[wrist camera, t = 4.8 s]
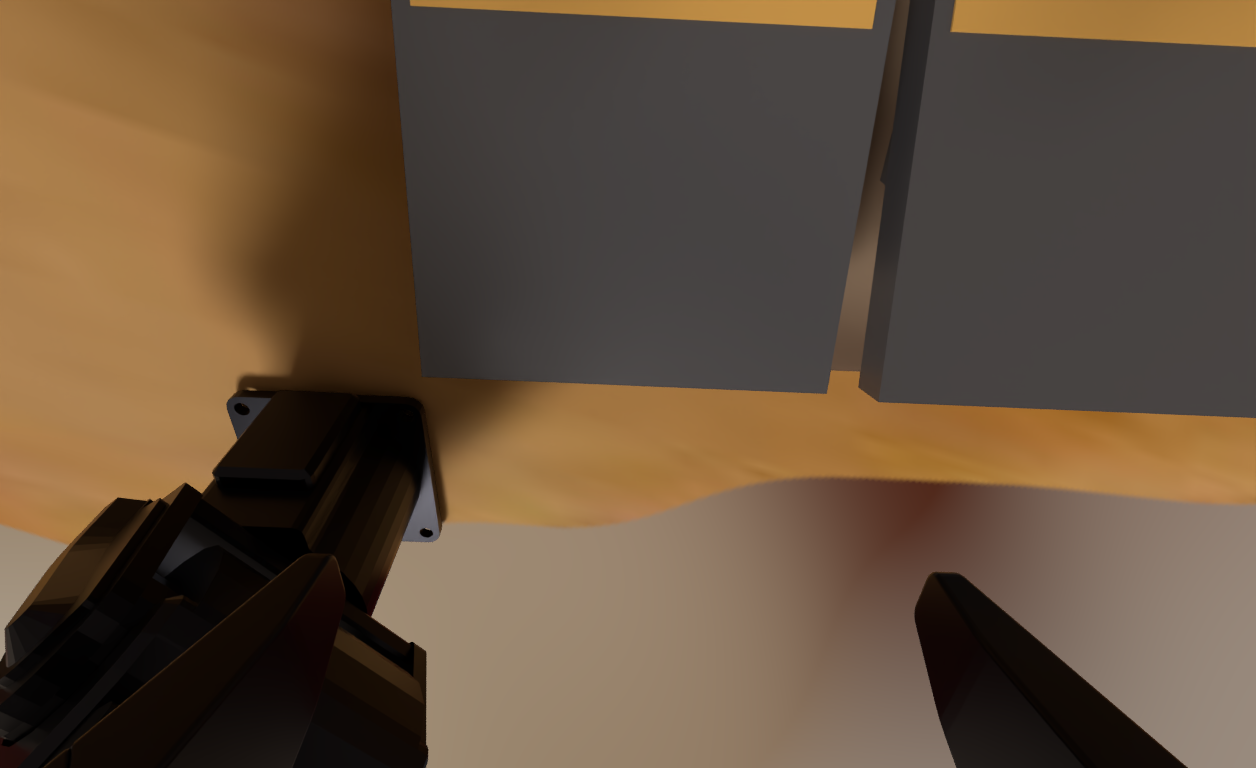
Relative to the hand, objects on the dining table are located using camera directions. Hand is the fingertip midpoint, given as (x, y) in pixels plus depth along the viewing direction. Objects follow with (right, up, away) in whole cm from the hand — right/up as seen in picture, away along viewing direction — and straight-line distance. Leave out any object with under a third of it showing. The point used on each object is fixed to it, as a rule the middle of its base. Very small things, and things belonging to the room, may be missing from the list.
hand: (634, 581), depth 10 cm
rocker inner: (0, +8, +5) cm, 9 cm away
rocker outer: (+11, +7, +5) cm, 14 cm away
